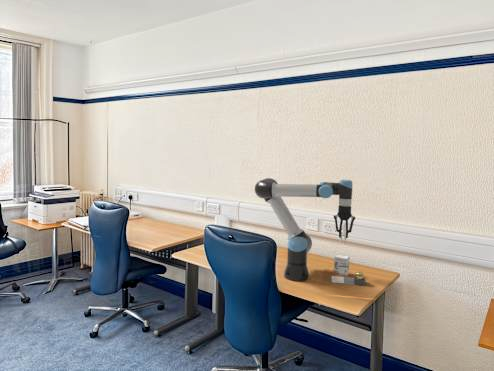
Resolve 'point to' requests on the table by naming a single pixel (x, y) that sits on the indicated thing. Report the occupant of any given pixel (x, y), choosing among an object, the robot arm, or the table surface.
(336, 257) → the ink box
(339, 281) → the board
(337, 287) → the table surface
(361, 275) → the button
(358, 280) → the button housing
